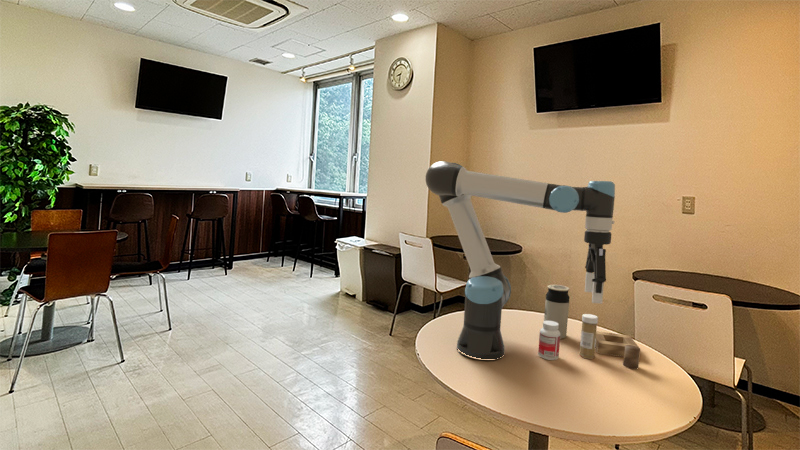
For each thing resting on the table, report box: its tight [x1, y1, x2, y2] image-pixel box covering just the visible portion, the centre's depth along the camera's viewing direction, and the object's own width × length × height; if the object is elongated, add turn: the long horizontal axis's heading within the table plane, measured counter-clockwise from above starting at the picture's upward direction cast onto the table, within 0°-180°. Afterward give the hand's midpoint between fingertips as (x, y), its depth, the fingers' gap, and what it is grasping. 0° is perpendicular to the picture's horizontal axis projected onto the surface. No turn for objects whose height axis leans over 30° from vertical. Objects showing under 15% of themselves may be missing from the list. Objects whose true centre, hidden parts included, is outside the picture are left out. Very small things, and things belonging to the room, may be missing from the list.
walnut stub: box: [622, 345, 641, 370], centre depth 123 cm, size 4×4×6 cm
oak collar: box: [595, 330, 639, 358], centre depth 136 cm, size 12×12×4 cm
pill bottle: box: [537, 320, 561, 361], centre depth 127 cm, size 6×6×11 cm
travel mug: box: [543, 284, 571, 340], centre depth 146 cm, size 8×8×18 cm
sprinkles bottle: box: [578, 313, 599, 360], centre depth 128 cm, size 5×5×13 cm
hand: (592, 297), depth 127 cm, fingers open, 13 cm apart
